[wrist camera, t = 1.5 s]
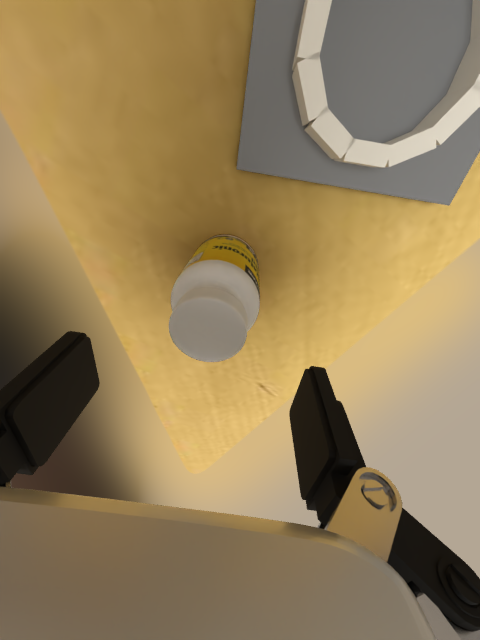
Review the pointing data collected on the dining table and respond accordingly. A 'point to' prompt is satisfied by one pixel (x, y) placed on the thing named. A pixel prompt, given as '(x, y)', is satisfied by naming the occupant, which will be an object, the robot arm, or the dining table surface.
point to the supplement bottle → (215, 299)
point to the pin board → (364, 94)
